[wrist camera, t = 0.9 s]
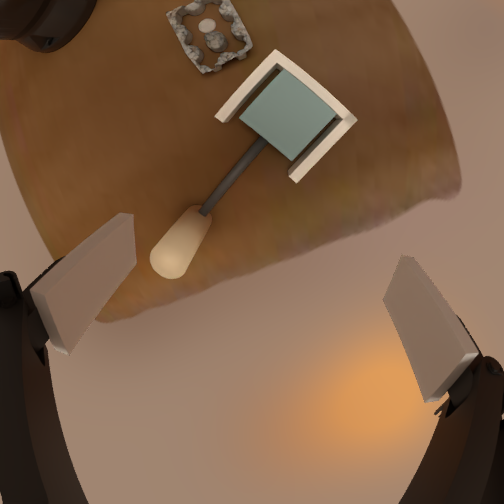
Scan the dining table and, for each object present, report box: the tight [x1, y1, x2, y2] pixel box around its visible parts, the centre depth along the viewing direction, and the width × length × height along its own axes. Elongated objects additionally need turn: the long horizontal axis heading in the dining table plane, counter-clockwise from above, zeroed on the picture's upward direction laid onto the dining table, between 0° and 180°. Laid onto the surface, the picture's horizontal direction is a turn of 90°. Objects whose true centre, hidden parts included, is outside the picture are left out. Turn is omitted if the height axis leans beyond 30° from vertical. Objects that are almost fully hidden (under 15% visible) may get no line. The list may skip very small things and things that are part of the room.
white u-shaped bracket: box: [215, 49, 357, 183], centre depth 28 cm, size 12×10×4 cm
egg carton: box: [166, 0, 253, 74], centre depth 24 cm, size 11×8×4 cm
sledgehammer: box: [150, 69, 336, 279], centre depth 28 cm, size 7×24×12 cm, turn 140°
